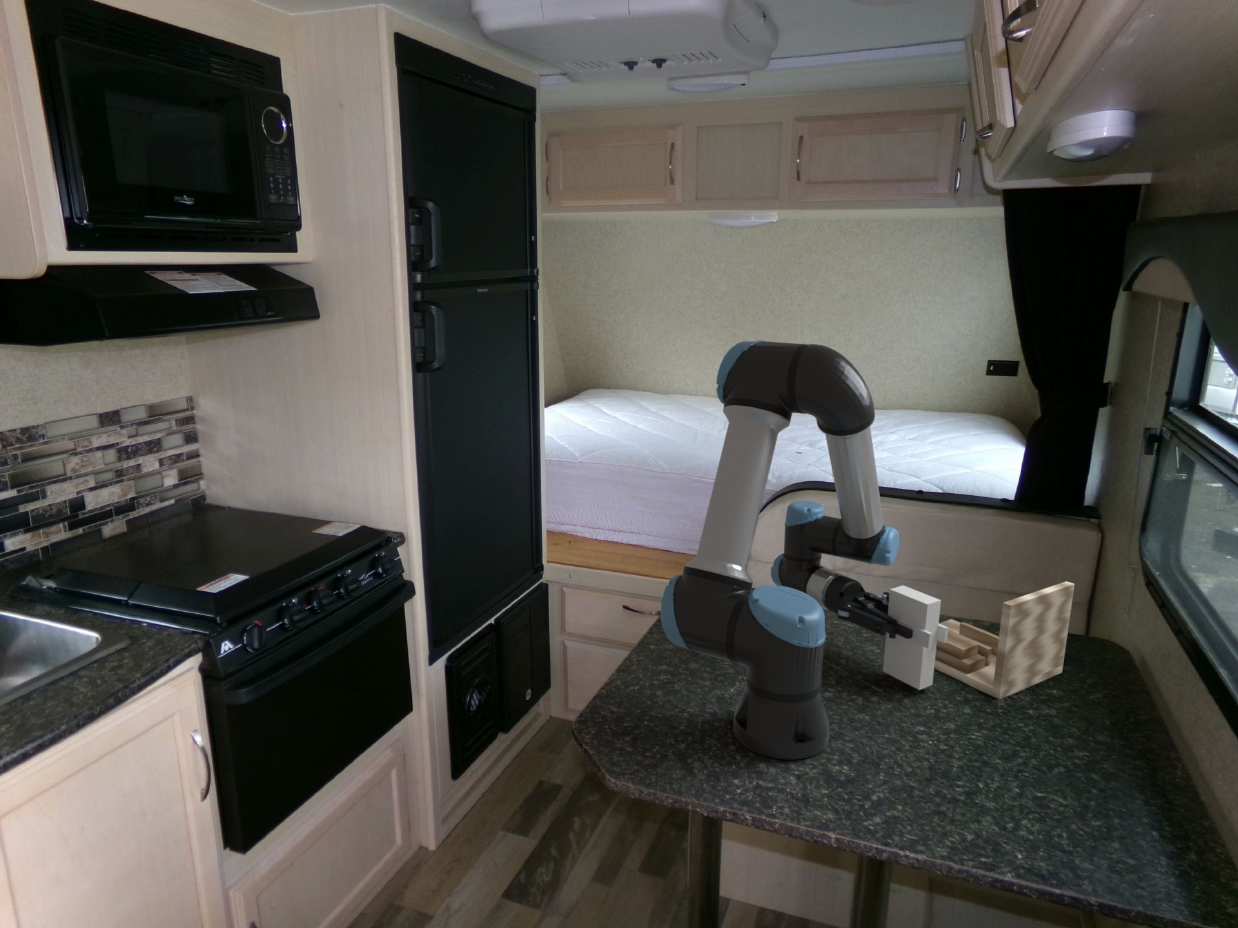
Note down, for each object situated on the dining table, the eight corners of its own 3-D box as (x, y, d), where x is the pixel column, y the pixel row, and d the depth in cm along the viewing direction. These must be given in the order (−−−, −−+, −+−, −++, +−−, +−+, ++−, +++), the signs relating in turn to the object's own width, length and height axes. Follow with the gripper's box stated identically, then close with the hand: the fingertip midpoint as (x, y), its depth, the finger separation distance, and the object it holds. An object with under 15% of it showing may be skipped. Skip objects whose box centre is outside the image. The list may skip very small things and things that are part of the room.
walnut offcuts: (967, 674, 149) (969, 653, 148) (921, 652, 157) (923, 633, 156) (984, 667, 151) (987, 647, 151) (938, 646, 160) (940, 627, 159)
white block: (919, 689, 144) (927, 604, 140) (882, 671, 150) (889, 589, 147) (932, 684, 145) (941, 600, 142) (895, 666, 152) (903, 585, 148)
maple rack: (999, 699, 143) (1011, 605, 139) (889, 646, 163) (896, 563, 159) (1061, 672, 153) (1074, 583, 149) (950, 625, 173) (959, 546, 169)
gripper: (864, 602, 165) (966, 646, 146) (803, 620, 157) (904, 670, 138) (867, 566, 164) (971, 607, 144) (806, 583, 155) (908, 628, 136)
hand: (938, 637), depth 141 cm, fingers closed on white block, 3 cm apart
